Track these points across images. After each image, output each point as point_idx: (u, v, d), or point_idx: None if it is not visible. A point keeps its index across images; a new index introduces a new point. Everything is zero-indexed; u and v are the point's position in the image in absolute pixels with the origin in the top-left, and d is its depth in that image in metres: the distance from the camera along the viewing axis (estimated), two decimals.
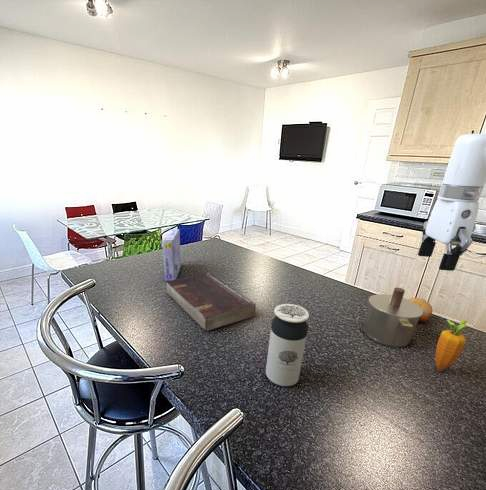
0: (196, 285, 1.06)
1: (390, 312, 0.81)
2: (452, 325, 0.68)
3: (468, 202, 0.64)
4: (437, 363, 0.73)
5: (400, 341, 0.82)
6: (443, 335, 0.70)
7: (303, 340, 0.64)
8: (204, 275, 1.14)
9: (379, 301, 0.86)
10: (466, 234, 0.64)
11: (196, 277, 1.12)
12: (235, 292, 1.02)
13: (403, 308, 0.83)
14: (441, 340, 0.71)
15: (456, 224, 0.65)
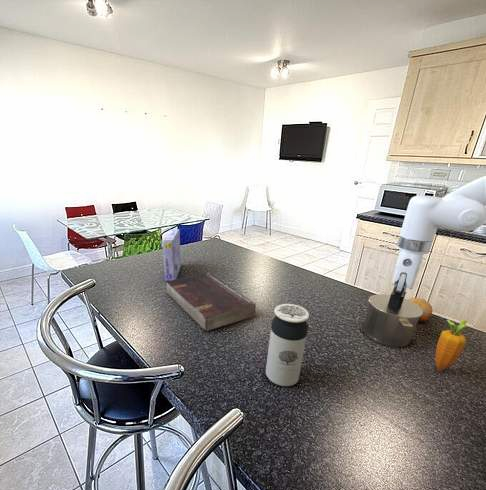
0: (196, 285, 1.06)
1: (390, 312, 0.81)
2: (452, 325, 0.68)
3: (410, 253, 0.75)
4: (437, 363, 0.73)
5: (400, 341, 0.82)
6: (443, 335, 0.70)
7: (303, 340, 0.64)
8: (204, 275, 1.14)
9: (379, 301, 0.86)
10: (401, 283, 0.77)
11: (196, 277, 1.12)
12: (235, 292, 1.02)
13: (404, 308, 0.83)
14: (441, 340, 0.71)
15: (399, 269, 0.77)
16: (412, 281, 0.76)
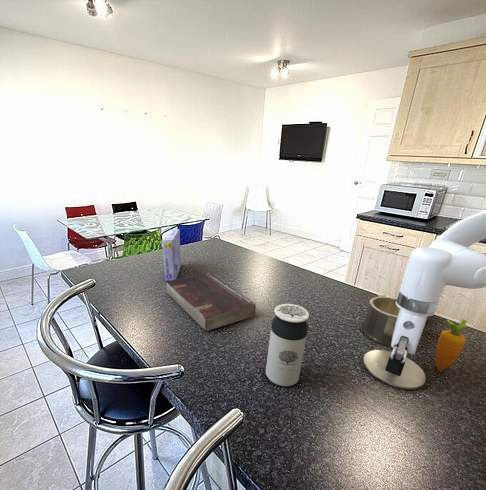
0: (196, 285, 1.06)
1: (387, 379, 0.69)
2: (452, 325, 0.68)
3: (412, 314, 0.63)
4: (437, 363, 0.73)
5: None
6: (443, 335, 0.70)
7: (303, 340, 0.64)
8: (204, 275, 1.14)
9: (375, 361, 0.75)
10: (403, 345, 0.64)
11: (196, 277, 1.12)
12: (235, 292, 1.02)
13: (404, 373, 0.71)
14: (441, 340, 0.71)
15: (398, 332, 0.66)
16: (414, 347, 0.64)
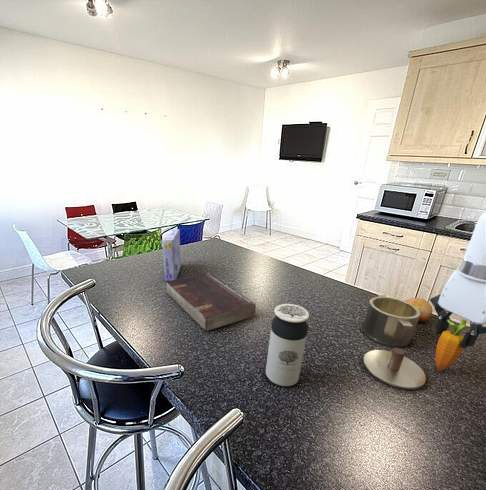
0: (196, 285, 1.06)
1: (387, 379, 0.69)
2: (452, 325, 0.68)
3: None
4: (437, 363, 0.73)
5: (400, 341, 0.82)
6: (443, 335, 0.70)
7: (303, 340, 0.64)
8: (204, 275, 1.14)
9: (375, 361, 0.75)
10: None
11: (196, 277, 1.12)
12: (235, 292, 1.02)
13: (404, 373, 0.71)
14: (441, 340, 0.71)
15: None
16: None
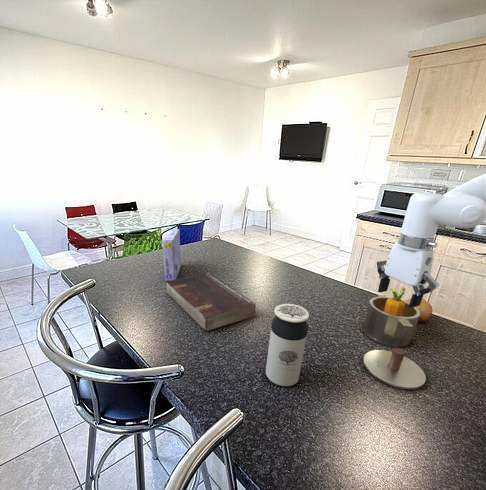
0: (196, 285, 1.06)
1: (387, 379, 0.69)
2: (393, 292, 0.82)
3: (428, 251, 0.74)
4: None
5: (400, 341, 0.82)
6: (387, 301, 0.84)
7: (303, 340, 0.64)
8: (204, 275, 1.14)
9: (375, 361, 0.75)
10: (431, 278, 0.74)
11: (196, 277, 1.12)
12: (235, 292, 1.02)
13: (404, 373, 0.71)
14: (386, 305, 0.85)
15: (422, 270, 0.75)
16: None
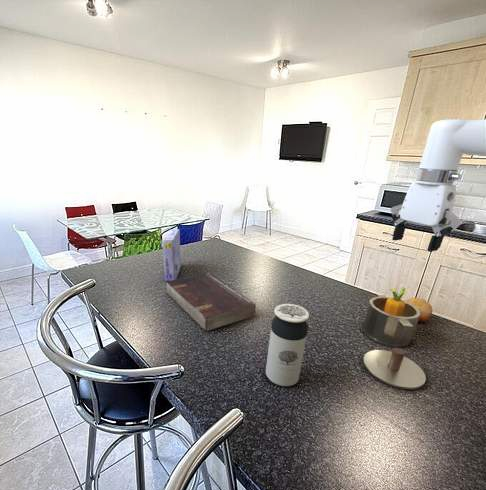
0: (196, 285, 1.06)
1: (387, 379, 0.69)
2: (393, 292, 0.82)
3: (450, 185, 0.68)
4: None
5: (400, 341, 0.82)
6: (387, 301, 0.84)
7: (303, 340, 0.64)
8: (204, 275, 1.14)
9: (375, 361, 0.75)
10: (454, 215, 0.68)
11: (196, 277, 1.12)
12: (235, 292, 1.02)
13: (404, 373, 0.71)
14: (386, 305, 0.85)
15: (443, 207, 0.68)
16: None
